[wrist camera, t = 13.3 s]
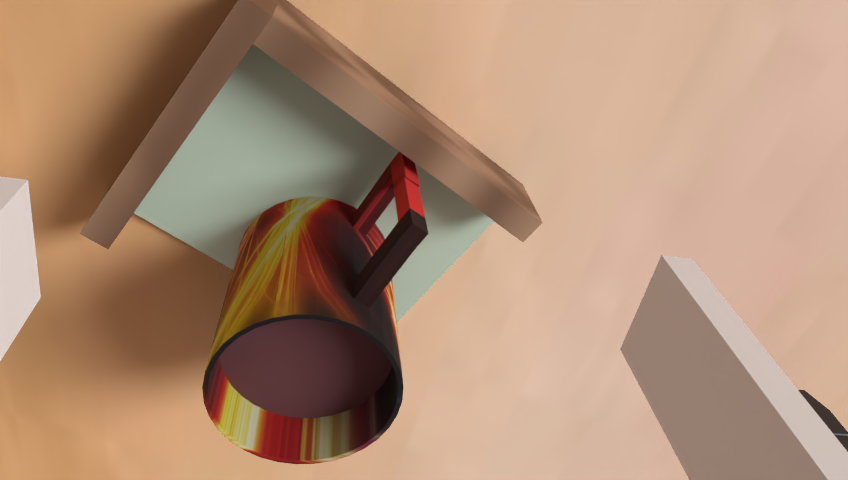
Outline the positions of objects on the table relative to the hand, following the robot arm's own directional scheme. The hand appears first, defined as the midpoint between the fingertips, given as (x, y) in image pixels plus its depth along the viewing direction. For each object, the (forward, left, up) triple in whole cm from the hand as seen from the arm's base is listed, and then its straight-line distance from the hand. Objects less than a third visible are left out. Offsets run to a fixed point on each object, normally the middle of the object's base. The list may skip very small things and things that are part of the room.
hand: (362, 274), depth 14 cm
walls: (+5, -9, -26) cm, 28 cm away
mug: (+6, -12, -25) cm, 29 cm away
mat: (+5, -10, -26) cm, 28 cm away
